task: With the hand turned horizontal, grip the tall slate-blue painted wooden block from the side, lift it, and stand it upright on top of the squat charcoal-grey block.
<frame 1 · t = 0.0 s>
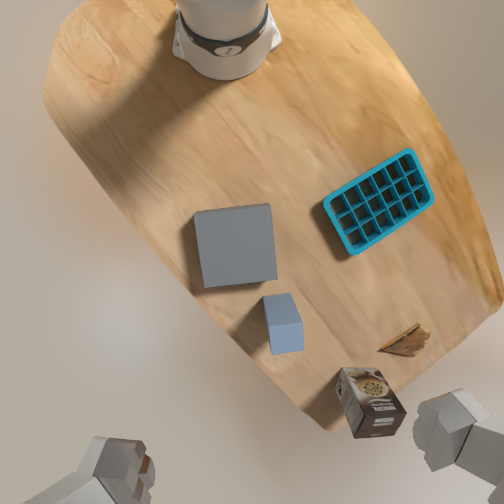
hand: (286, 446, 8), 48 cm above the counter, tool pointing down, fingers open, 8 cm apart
shard: (405, 343, 63), on the counter
ice cube tray: (376, 198, 55), on the counter
slate-blue block: (277, 307, 59), on the counter
coffee box: (355, 378, 64), on the counter
charcoal block: (236, 241, 56), on the counter
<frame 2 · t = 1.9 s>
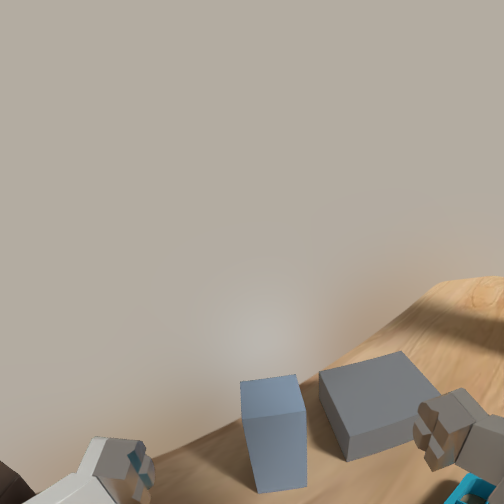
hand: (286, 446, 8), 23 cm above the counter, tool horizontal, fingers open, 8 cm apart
slate-blue block: (279, 473, 28), on the counter
charcoal block: (376, 416, 34), on the counter
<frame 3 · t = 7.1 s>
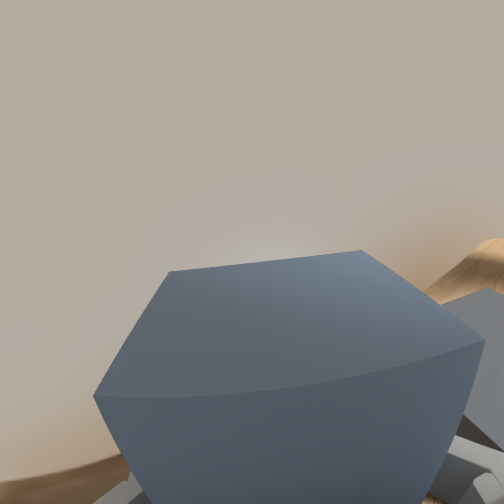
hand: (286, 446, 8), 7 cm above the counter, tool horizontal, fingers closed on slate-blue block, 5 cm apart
charcoal block: (477, 406, 15), on the counter
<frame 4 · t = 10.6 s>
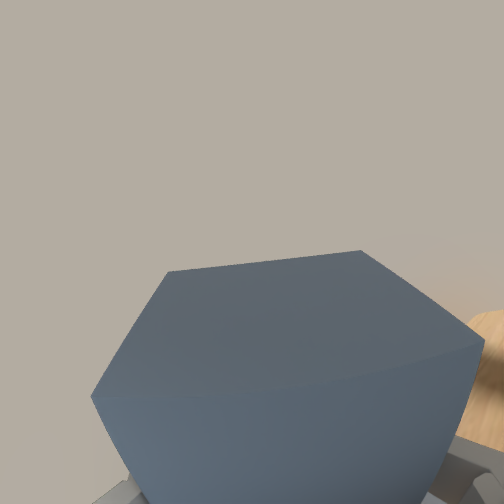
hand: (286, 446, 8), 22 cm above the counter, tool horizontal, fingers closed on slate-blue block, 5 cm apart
when the fingers open (13 cm above the counter, at t = 13.8 s): slate-blue block drops 2 cm, point 5 cm above the counter.
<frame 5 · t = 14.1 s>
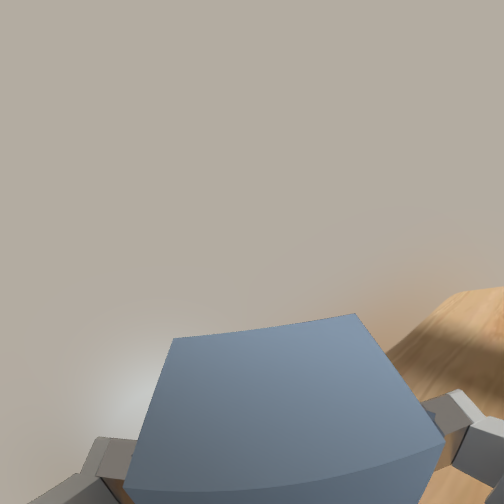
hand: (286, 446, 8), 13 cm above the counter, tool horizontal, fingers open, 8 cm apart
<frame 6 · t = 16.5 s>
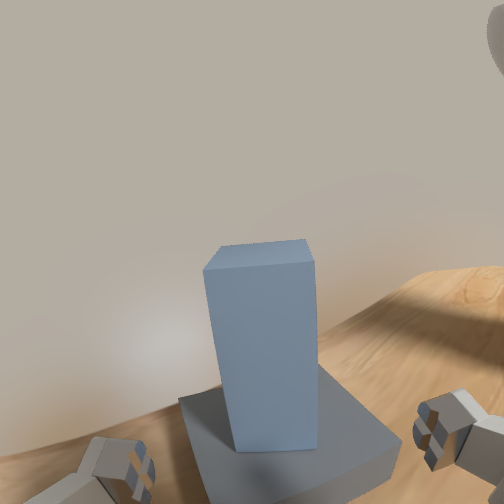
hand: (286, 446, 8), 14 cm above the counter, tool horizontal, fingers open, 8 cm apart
slate-blue block: (277, 425, 19), point 5 cm above the counter, touching charcoal block
charcoal block: (281, 465, 21), on the counter, touching slate-blue block
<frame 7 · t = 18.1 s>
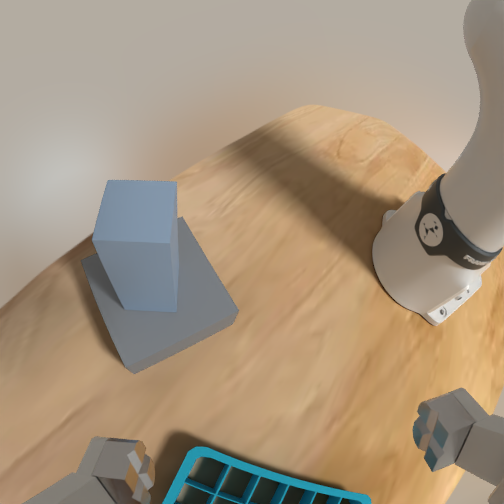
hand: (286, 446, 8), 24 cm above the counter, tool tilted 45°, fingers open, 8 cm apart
slate-blue block: (152, 286, 30), point 5 cm above the counter, touching charcoal block
charcoal block: (158, 302, 34), on the counter, touching slate-blue block
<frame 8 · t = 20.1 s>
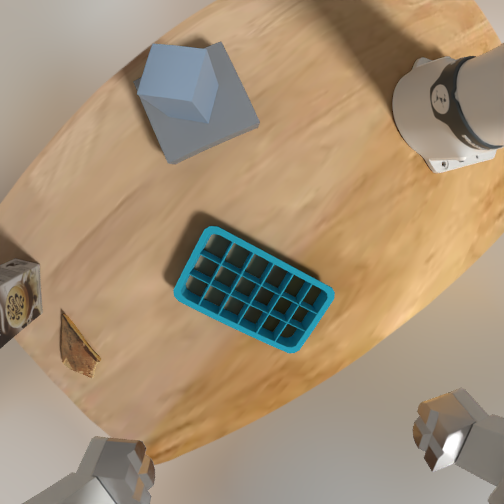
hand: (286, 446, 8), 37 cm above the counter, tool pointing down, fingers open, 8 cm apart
shard: (74, 346, 48), on the counter
ice cube tray: (254, 287, 46), on the counter
slate-blue block: (193, 100, 35), point 5 cm above the counter, touching charcoal block
coffee box: (28, 285, 45), on the counter
charcoal block: (198, 107, 40), on the counter, touching slate-blue block
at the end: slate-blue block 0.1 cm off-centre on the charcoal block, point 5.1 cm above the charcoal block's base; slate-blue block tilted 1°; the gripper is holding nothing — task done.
